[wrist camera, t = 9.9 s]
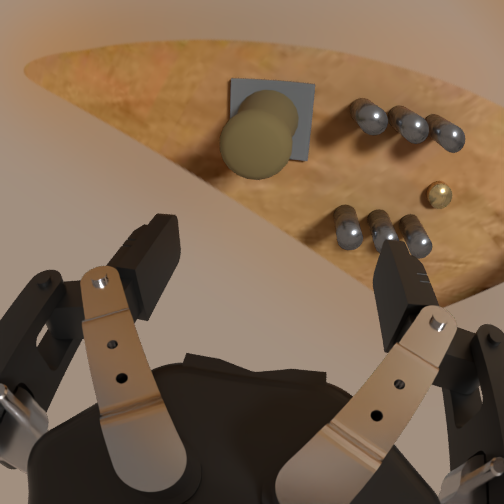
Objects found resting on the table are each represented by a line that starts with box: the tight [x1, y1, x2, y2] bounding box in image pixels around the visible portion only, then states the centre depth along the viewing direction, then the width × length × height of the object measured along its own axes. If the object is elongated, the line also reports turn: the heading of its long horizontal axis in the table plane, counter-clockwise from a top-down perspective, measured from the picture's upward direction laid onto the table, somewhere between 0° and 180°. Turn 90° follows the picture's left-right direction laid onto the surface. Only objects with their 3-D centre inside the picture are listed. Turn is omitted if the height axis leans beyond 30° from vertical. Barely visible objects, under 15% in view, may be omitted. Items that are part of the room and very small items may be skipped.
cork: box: [220, 90, 299, 180], centre depth 25 cm, size 6×6×11 cm
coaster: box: [230, 78, 315, 161], centre depth 30 cm, size 8×8×1 cm
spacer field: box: [334, 98, 465, 258], centre depth 29 cm, size 11×15×5 cm
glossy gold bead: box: [426, 181, 452, 209], centre depth 31 cm, size 3×3×1 cm
